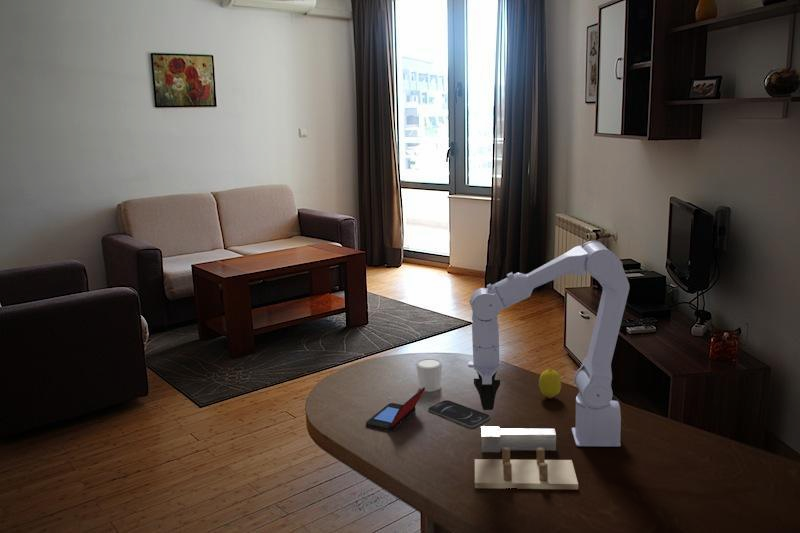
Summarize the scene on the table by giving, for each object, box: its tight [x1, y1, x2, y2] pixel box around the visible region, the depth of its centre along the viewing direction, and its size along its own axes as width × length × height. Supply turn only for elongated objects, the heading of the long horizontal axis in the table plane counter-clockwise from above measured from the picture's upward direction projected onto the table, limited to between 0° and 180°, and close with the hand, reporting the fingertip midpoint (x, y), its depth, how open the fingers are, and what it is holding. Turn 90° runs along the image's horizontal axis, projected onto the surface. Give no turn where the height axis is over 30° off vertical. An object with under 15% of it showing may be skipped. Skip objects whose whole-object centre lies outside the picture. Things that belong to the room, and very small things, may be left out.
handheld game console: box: [365, 387, 425, 433], centre depth 164 cm, size 12×11×7 cm
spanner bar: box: [480, 425, 557, 453], centre depth 149 cm, size 16×5×4 cm, turn 84°
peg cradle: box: [474, 447, 579, 490], centre depth 137 cm, size 20×9×4 cm, turn 84°
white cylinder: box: [415, 358, 443, 393], centre depth 182 cm, size 7×7×7 cm
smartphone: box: [427, 399, 491, 429], centre depth 166 cm, size 8×1×15 cm
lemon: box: [538, 368, 562, 399], centre depth 171 cm, size 6×6×8 cm
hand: (487, 401), depth 150 cm, fingers open, 7 cm apart
